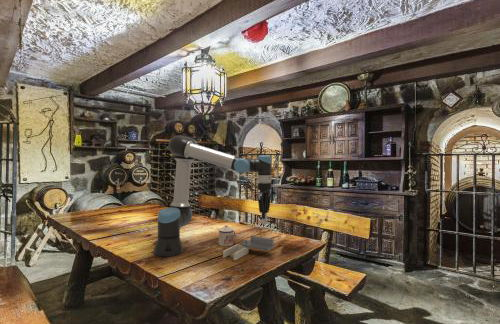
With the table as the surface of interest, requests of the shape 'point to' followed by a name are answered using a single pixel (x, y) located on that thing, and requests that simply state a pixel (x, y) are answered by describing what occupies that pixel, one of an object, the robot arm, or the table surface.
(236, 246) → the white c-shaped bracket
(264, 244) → the cover
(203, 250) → the table surface
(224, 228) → the teacup with lid
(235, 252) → the dowel
